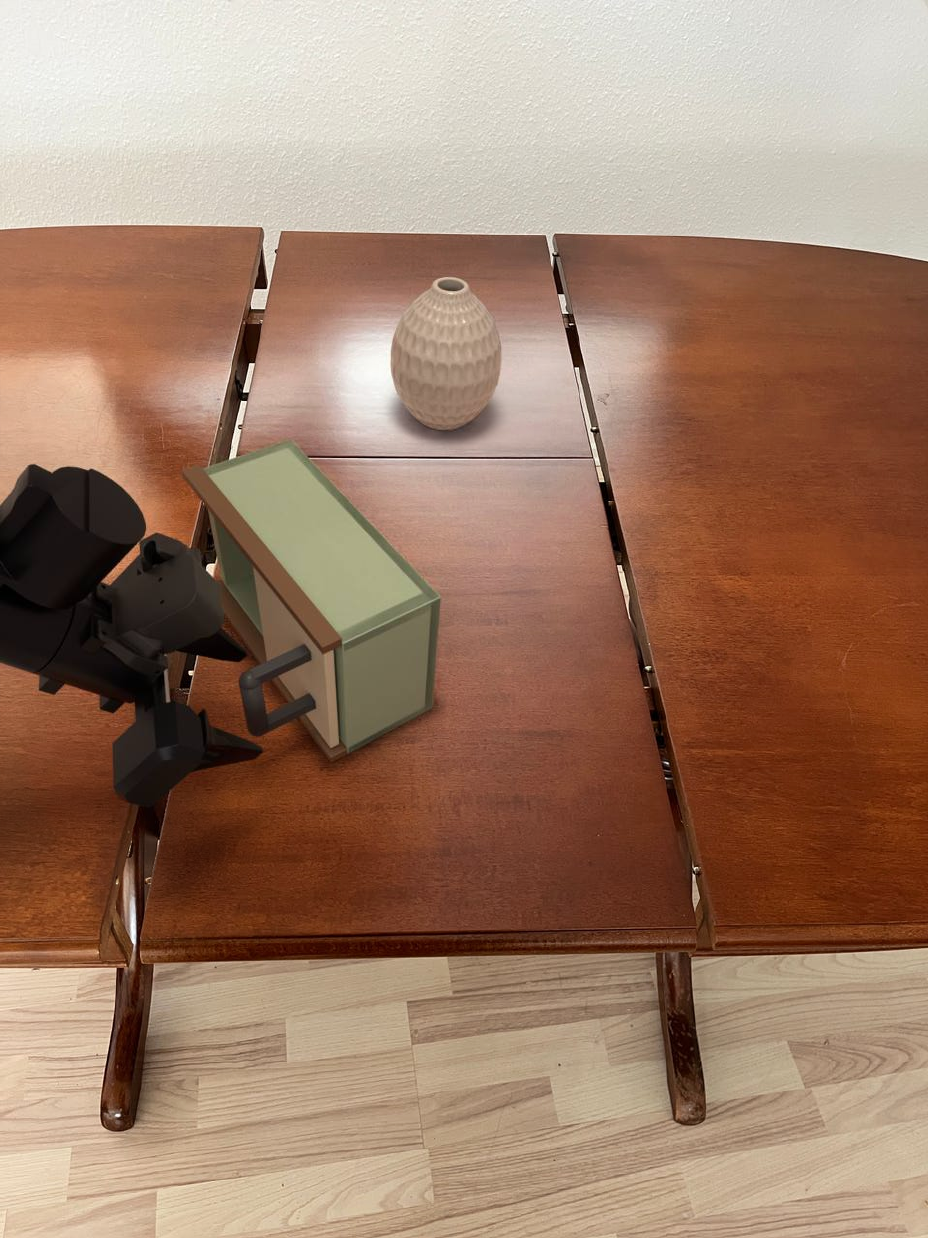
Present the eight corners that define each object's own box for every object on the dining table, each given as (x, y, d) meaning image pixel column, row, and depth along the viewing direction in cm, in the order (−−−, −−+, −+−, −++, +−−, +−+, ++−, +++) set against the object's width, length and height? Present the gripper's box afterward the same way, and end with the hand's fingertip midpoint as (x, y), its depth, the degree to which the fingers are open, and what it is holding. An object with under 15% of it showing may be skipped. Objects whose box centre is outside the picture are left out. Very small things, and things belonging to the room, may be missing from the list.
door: (268, 781, 67) (251, 684, 58) (207, 688, 73) (182, 586, 64) (339, 744, 70) (333, 645, 61) (274, 657, 76) (260, 555, 67)
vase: (486, 454, 100) (501, 321, 88) (378, 437, 101) (378, 303, 88) (501, 395, 109) (516, 266, 96) (402, 379, 109) (405, 250, 97)
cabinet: (330, 763, 70) (322, 647, 59) (206, 592, 82) (180, 469, 71) (432, 708, 75) (441, 591, 64) (301, 553, 87) (290, 432, 76)
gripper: (131, 669, 44) (349, 746, 55) (121, 453, 56) (302, 552, 67) (15, 782, 48) (239, 834, 59) (28, 558, 60) (213, 635, 71)
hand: (251, 703), depth 64 cm, fingers open, 9 cm apart
